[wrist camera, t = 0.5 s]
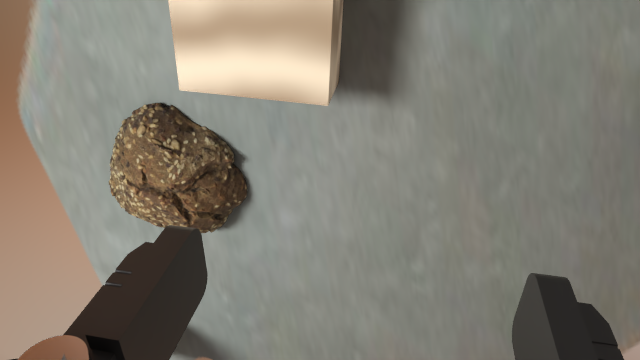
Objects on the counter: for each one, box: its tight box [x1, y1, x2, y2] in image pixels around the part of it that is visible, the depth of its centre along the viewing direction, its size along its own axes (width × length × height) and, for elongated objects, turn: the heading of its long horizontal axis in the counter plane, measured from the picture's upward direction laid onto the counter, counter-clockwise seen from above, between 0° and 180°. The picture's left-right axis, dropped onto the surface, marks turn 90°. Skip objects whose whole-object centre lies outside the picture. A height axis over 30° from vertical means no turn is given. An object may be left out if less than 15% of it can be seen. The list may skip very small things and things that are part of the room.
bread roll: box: [109, 103, 247, 233], centre depth 43 cm, size 13×12×5 cm
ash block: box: [168, 0, 343, 106], centre depth 33 cm, size 11×11×5 cm
